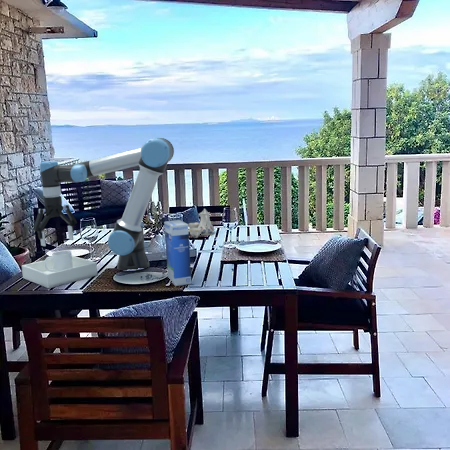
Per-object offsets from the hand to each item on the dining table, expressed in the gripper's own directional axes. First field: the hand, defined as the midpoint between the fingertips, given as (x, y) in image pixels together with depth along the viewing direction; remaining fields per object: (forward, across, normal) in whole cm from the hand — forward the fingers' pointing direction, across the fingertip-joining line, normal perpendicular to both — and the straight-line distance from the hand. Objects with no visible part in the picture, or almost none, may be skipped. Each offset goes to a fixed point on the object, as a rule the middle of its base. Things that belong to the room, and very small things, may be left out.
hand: (57, 242), depth 223 cm
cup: (+15, +1, 0) cm, 15 cm away
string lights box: (+17, -29, +49) cm, 59 cm away
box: (+16, 0, 0) cm, 16 cm away
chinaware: (+17, -102, -14) cm, 105 cm away
